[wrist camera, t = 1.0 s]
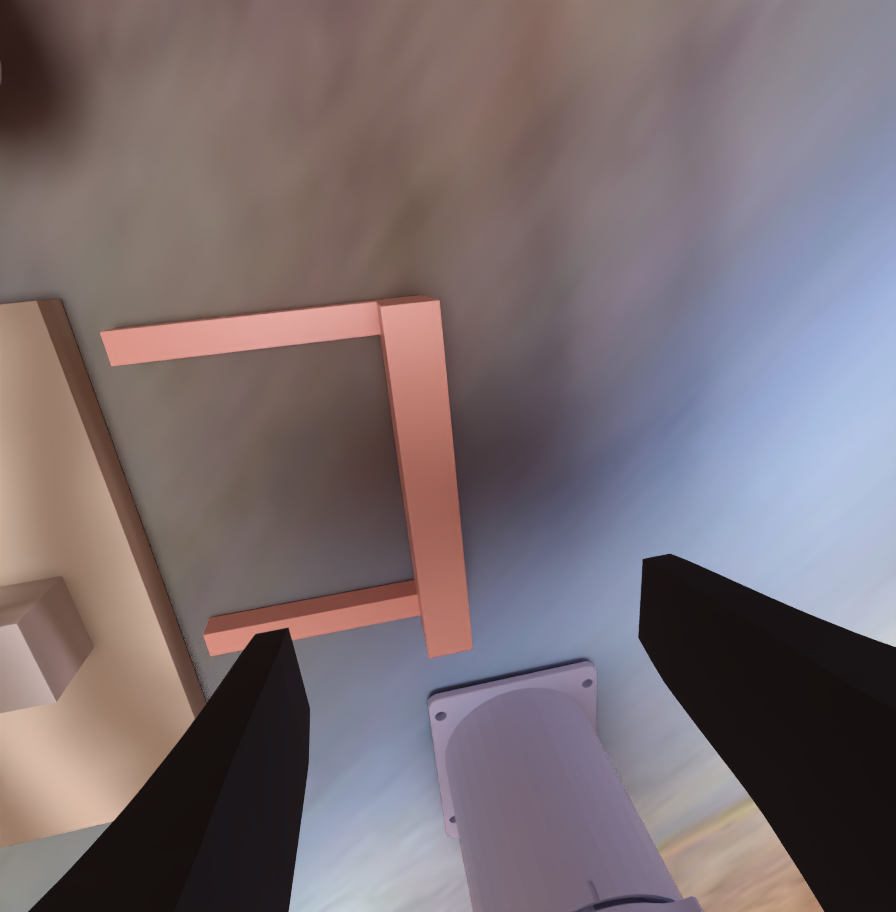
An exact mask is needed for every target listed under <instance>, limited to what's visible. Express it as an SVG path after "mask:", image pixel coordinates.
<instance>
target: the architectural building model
mask: <svg viewBox="0 0 896 912" xmlns="http://www.w3.org/2000/svg"><path fill="white" fill-rule="evenodd" d="M205 705H206V700H205V698H204V695H203V692H202V689H201V687H200V684H199V681H198V678H197V676H196V673H195V670H194V667H193V665H192V662H191V659H190V656H189V653H188V651H187V648H186V645H185V642H184V640H183V637H182V634H181V631H180V629H179V626H178V623H177V620H176V617H175V615H174V612H173V609H172V606H171V604H170V601H169V598H168V595H167V593H166V590H165V587H164V584H163V582H162V579H161V576H160V573H159V570H158V568H157V565H156V562H155V559H154V557H153V554H152V551H151V548H150V546H149V543H148V540H147V537H146V535H145V532H144V529H143V526H142V523H141V521H140V518H139V515H138V512H137V510H136V507H135V504H134V501H133V499H132V496H131V493H130V490H129V487H128V485H127V482H126V479H125V476H124V474H123V471H122V468H121V465H120V463H119V460H118V457H117V454H116V452H115V449H114V446H113V443H112V440H111V438H110V435H109V432H108V429H107V427H106V424H105V421H104V418H103V416H102V413H101V410H100V407H99V404H98V402H97V399H96V396H95V393H94V391H93V388H92V385H91V382H90V380H89V377H88V374H87V371H86V369H85V366H84V363H83V360H82V357H81V355H80V352H79V349H78V346H77V344H76V341H75V338H74V335H73V333H72V330H71V327H70V324H69V322H68V319H67V316H66V313H65V310H64V308H63V305H62V302H61V299H51V300H40V301H30V302H20V303H10V304H0V848H1V847H5V846H10V845H14V844H18V843H23V842H27V841H31V840H35V839H40V838H44V837H48V836H53V835H57V834H61V833H65V832H70V831H74V830H78V829H83V828H87V827H91V826H96V825H100V824H104V823H108V822H113V821H114V820H115V819H116V818H117V816H118V815H119V814H120V813H121V812H122V811H123V809H124V808H125V807H126V806H127V805H128V804H129V802H130V801H131V800H132V799H133V798H134V796H135V795H136V794H137V793H138V792H139V790H140V789H141V788H142V787H143V785H144V784H145V783H146V782H147V780H148V779H149V778H150V777H151V775H152V774H153V773H154V772H155V770H156V769H157V768H158V767H159V765H160V764H161V763H162V761H163V760H164V759H165V758H166V756H167V755H168V754H169V753H170V751H171V750H172V749H173V748H174V746H175V745H176V744H177V743H178V741H179V740H180V739H181V737H182V736H183V735H184V733H185V732H186V731H187V729H188V728H189V726H190V725H191V724H192V722H193V721H194V720H195V718H196V717H197V716H198V714H199V713H200V711H201V710H202V709H203V707H204V706H205Z"/></svg>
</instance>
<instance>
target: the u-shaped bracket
mask: <svg viewBox="0 0 896 912" xmlns="http://www.w3.org/2000/svg"><path fill="white" fill-rule="evenodd" d="M100 334H101V337H102V340H103V343H104V346H105V349H106V352H107V355H108V357H109V360H110V363H111V366H118V365H127V364H135V363H144V362H152V361H160V360H169V359H177V358H186V357H194V356H203V355H211V354H220V353H228V352H237V351H245V350H253V349H262V348H270V347H279V346H287V345H296V344H304V343H313V342H321V341H329V340H338V339H346V338H355V337H363V336H372V335H380V340H381V347H382V354H383V361H384V368H385V375H386V382H387V389H388V396H389V403H390V410H391V418H392V425H393V432H394V439H395V446H396V453H397V460H398V467H399V474H400V481H401V489H402V496H403V503H404V510H405V517H406V524H407V531H408V538H409V545H410V552H411V559H412V567H413V574H414V580H410V581H405V582H400V583H394V584H389V585H383V586H378V587H373V588H367V589H362V590H357V591H351V592H346V593H340V594H335V595H330V596H324V597H319V598H314V599H308V600H303V601H297V602H292V603H287V604H281V605H276V606H271V607H265V608H260V609H254V610H249V611H244V612H238V613H233V614H228V615H222V616H217V617H211V618H210V620H209V623H208V625H207V627H206V630H205V632H204V638H205V641H206V644H207V647H208V650H209V653H210V656H214V655H219V654H225V653H230V652H235V651H240V650H244V649H245V647H246V646H247V644H248V643H249V642H250V640H251V639H252V638H253V636H254V635H255V634H257V633H263V632H268V631H273V630H278V629H283V628H288V627H289V631H290V635H291V638H292V640H296V639H301V638H306V637H311V636H316V635H321V634H327V633H332V632H337V631H342V630H347V629H352V628H357V627H362V626H367V625H372V624H378V623H383V622H388V621H393V620H398V619H403V618H408V617H413V616H418V615H420V617H421V622H422V627H423V632H424V637H425V642H426V647H427V652H428V657H429V658H434V657H438V656H443V655H448V654H453V653H458V652H462V651H467V650H472V649H473V646H472V635H471V625H470V614H469V604H468V593H467V583H466V572H465V562H464V552H463V541H462V531H461V520H460V510H459V499H458V489H457V478H456V468H455V457H454V447H453V437H452V426H451V416H450V405H449V395H448V384H447V374H446V363H445V353H444V342H443V332H442V322H441V311H440V301H439V300H437V299H434V298H431V297H428V296H425V295H416V296H407V297H398V298H389V299H379V300H370V301H361V302H352V303H343V304H334V305H324V306H315V307H306V308H297V309H288V310H278V311H269V312H260V313H251V314H242V315H233V316H223V317H214V318H205V319H196V320H187V321H177V322H168V323H159V324H150V325H141V326H131V327H122V328H114V329H110V330H106V331H102V332H100Z"/></svg>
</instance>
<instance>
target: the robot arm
mask: <svg viewBox="0 0 896 912" xmlns="http://www.w3.org/2000/svg"><path fill="white" fill-rule="evenodd" d="M638 638H639V640H640V641H641V643H642V645H643V647H644V648H645V650H646V652H647V654H648V656H649V657H650V659H651V661H652V663H653V664H654V666H655V668H656V669H657V671H658V673H659V674H660V676H661V678H662V679H663V681H664V683H665V684H666V685H667V687H668V688H669V689H670V691H671V692H672V694H673V695H674V696H675V698H676V699H677V700H678V702H679V703H680V704H681V706H682V707H683V708H684V710H685V711H686V712H687V713H688V715H689V716H690V717H691V719H692V720H693V721H694V723H695V724H696V725H697V727H698V728H699V729H700V731H701V732H702V733H703V735H704V736H705V737H706V738H707V740H708V741H709V742H710V744H711V745H712V746H713V748H714V749H715V750H716V752H717V753H718V754H719V755H720V757H721V758H722V759H723V761H724V762H725V763H726V765H727V766H728V767H729V769H730V770H731V771H732V772H733V774H734V775H735V776H736V778H737V779H738V780H739V782H740V783H741V784H742V786H743V787H744V788H745V790H746V791H747V792H748V794H749V795H750V797H751V798H752V799H753V801H754V802H755V804H756V805H757V806H758V808H759V809H760V811H761V812H762V813H763V815H764V816H765V818H766V819H767V821H768V823H769V824H770V826H771V827H772V829H773V830H774V832H775V834H776V835H777V837H778V838H779V840H780V841H781V843H782V844H783V846H784V848H785V849H786V851H787V852H788V854H789V855H790V857H791V859H792V860H793V862H794V863H795V865H796V866H797V868H798V869H799V871H800V873H801V874H802V876H803V877H804V879H805V881H806V882H807V884H808V886H809V887H810V889H811V890H812V892H813V894H814V895H815V897H816V899H817V900H818V902H819V904H820V905H821V907H822V909H823V910H824V912H896V647H893V646H891V645H888V644H885V643H882V642H879V641H876V640H874V639H871V638H868V637H865V636H863V635H860V634H857V633H855V632H852V631H850V630H847V629H845V628H842V627H840V626H837V625H835V624H832V623H830V622H827V621H825V620H822V619H820V618H817V617H815V616H812V615H810V614H807V613H805V612H803V611H800V610H798V609H796V608H793V607H791V606H789V605H786V604H784V603H782V602H779V601H777V600H775V599H772V598H770V597H768V596H766V595H763V594H761V593H759V592H757V591H754V590H752V589H750V588H748V587H746V586H743V585H741V584H739V583H737V582H735V581H732V580H730V579H728V578H726V577H724V576H721V575H719V574H717V573H715V572H712V571H710V570H708V569H706V568H704V567H701V566H699V565H697V564H694V563H692V562H690V561H687V560H685V559H682V558H680V557H677V556H675V555H672V554H666V555H661V556H656V557H651V558H646V559H643V566H642V584H641V601H640V619H639V637H638ZM585 680H586V681H585ZM596 702H597V670H596V668H595V666H594V665H593V664H592V663H591V662H589V661H586V662H580V663H575V664H571V665H566V666H562V667H557V668H552V669H548V670H543V671H539V672H534V673H529V674H525V675H520V676H516V677H511V678H507V679H502V680H497V681H493V682H488V683H484V684H479V685H474V686H470V687H465V688H461V689H456V690H452V691H447V692H442V693H438V694H435V695H433V696H432V697H430V699H429V700H428V710H429V717H430V724H431V731H432V738H433V745H434V752H435V759H436V766H437V772H438V779H439V786H440V793H441V800H442V807H443V814H444V821H445V828H446V834H447V836H448V837H450V838H453V839H454V838H459V840H460V845H461V850H462V856H463V861H464V866H465V872H466V877H467V882H468V888H469V893H470V898H471V903H472V909H473V912H703V910H702V908H701V906H700V904H699V902H698V901H697V899H696V897H693V896H692V897H689V898H686V899H683V897H682V895H681V893H680V892H679V890H678V888H677V886H676V884H675V882H674V880H673V878H672V876H671V875H670V873H669V871H668V869H667V867H666V865H665V863H664V861H663V859H662V857H661V856H660V854H659V852H658V850H657V848H656V846H655V844H654V842H653V840H652V839H651V837H650V835H649V833H648V831H647V829H646V827H645V825H644V823H643V821H642V820H641V818H640V816H639V814H638V812H637V810H636V808H635V806H634V804H633V803H632V801H631V799H630V797H629V795H628V793H627V791H626V789H625V787H624V786H623V784H622V782H621V780H620V778H619V776H618V774H617V772H616V770H615V768H614V767H613V765H612V763H611V761H610V759H609V757H608V755H607V753H606V751H605V750H604V748H603V746H602V744H601V742H600V740H599V738H598V736H597V734H596ZM439 712H443V713H440V714H437V713H439ZM309 731H310V707H309V703H308V699H307V696H306V692H305V688H304V684H303V680H302V677H301V673H300V669H299V665H298V661H297V658H296V654H295V650H294V646H293V642H292V638H291V635H290V631H289V627H288V628H283V629H278V630H273V631H268V632H263V633H257V634H255V635H254V636H253V638H252V639H251V640H250V642H249V643H248V644H247V646H246V647H245V649H244V650H243V652H242V653H241V654H240V656H239V657H238V659H237V660H236V662H235V663H234V665H233V666H232V668H231V669H230V671H229V672H228V673H227V675H226V676H225V678H224V679H223V681H222V682H221V683H220V685H219V686H218V688H217V689H216V691H215V692H214V693H213V695H212V696H211V698H210V699H209V700H208V702H207V703H206V705H205V706H204V707H203V709H202V710H201V711H200V713H199V714H198V716H197V717H196V718H195V720H194V721H193V722H192V724H191V725H190V726H189V728H188V729H187V731H186V732H185V733H184V735H183V736H182V737H181V739H180V740H179V741H178V743H177V744H176V745H175V746H174V748H173V749H172V750H171V751H170V753H169V754H168V755H167V756H166V758H165V759H164V760H163V761H162V763H161V764H160V765H159V767H158V768H157V769H156V770H155V772H154V773H153V774H152V775H151V777H150V778H149V779H148V780H147V782H146V783H145V784H144V785H143V787H142V788H141V789H140V790H139V792H138V793H137V794H136V795H135V796H134V798H133V799H132V800H131V801H130V802H129V804H128V805H127V806H126V807H125V808H124V809H123V811H122V812H121V813H120V814H119V815H118V816H117V818H116V819H115V820H114V821H113V822H112V823H111V825H110V826H109V827H108V828H107V829H106V830H105V831H104V832H103V833H102V835H101V836H100V837H99V838H98V839H97V840H96V841H95V842H94V843H93V845H92V846H91V847H90V848H89V849H88V850H87V851H86V852H85V853H84V854H83V856H82V857H81V858H80V859H79V860H78V861H77V862H76V863H75V864H74V865H73V866H72V867H71V869H70V870H69V871H68V872H67V873H66V874H65V875H64V876H63V877H62V878H61V879H60V880H59V881H58V882H57V883H56V884H55V885H54V886H53V887H52V888H51V889H50V890H49V891H48V892H47V893H46V894H45V895H44V896H43V897H42V898H41V899H40V900H39V901H38V902H37V903H36V904H35V905H34V906H33V907H32V908H31V909H30V910H29V911H28V912H289V905H290V897H291V890H292V883H293V876H294V868H295V861H296V854H297V847H298V839H299V832H300V825H301V818H302V810H303V803H304V795H305V788H306V780H307V772H308V764H309Z"/></svg>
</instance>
